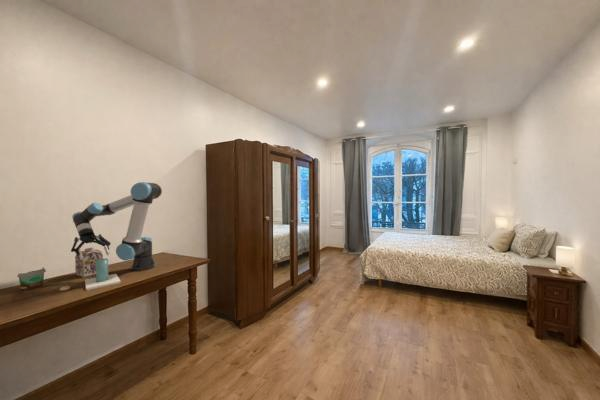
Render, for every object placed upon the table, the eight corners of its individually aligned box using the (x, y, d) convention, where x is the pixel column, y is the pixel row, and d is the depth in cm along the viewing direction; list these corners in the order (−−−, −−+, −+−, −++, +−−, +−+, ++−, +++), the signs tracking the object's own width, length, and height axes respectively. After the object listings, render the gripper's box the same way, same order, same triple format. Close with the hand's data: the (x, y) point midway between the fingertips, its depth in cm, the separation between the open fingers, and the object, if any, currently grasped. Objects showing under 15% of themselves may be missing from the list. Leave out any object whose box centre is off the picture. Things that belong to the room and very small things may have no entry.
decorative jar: (104, 272, 171) (103, 247, 170) (83, 277, 161) (82, 250, 160) (95, 270, 176) (94, 245, 176) (75, 275, 166) (74, 249, 166)
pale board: (116, 275, 164) (116, 273, 164) (120, 283, 150) (120, 281, 150) (84, 281, 153) (84, 279, 153) (86, 290, 139) (86, 288, 139)
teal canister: (108, 278, 156) (107, 258, 156) (109, 280, 151) (108, 259, 151) (95, 280, 152) (95, 259, 151) (96, 282, 147) (95, 261, 147)
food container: (25, 291, 138) (25, 274, 138) (17, 290, 139) (17, 273, 139) (51, 283, 150) (51, 267, 150) (44, 283, 151) (43, 267, 151)
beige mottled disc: (68, 287, 144) (67, 285, 144) (71, 288, 142) (71, 286, 142) (58, 290, 140) (58, 288, 140) (61, 291, 138) (61, 289, 138)
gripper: (106, 232, 175) (116, 255, 168) (59, 238, 154) (68, 264, 146) (109, 225, 172) (119, 248, 165) (61, 230, 151) (71, 257, 143)
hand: (95, 256), depth 155 cm, fingers open, 13 cm apart
